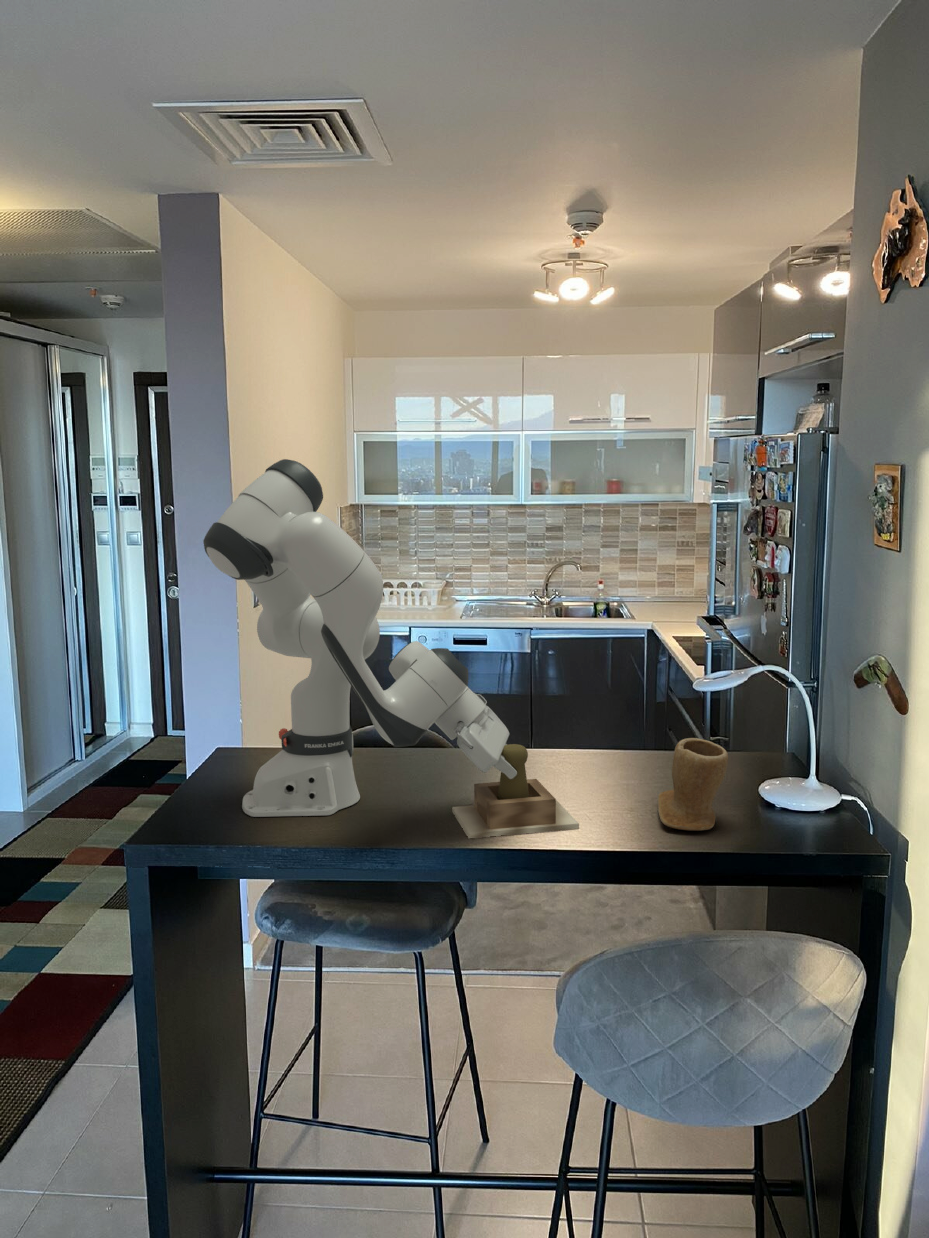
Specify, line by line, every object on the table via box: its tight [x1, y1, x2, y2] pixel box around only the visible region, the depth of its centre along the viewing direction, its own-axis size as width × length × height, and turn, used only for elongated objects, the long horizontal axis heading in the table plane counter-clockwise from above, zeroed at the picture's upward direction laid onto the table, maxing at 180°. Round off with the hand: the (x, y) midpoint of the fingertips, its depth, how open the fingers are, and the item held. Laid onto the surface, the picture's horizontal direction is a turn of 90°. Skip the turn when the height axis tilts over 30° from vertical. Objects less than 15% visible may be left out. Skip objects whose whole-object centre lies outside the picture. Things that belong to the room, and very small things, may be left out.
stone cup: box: [657, 737, 729, 831], centre depth 173 cm, size 15×12×15 cm
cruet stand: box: [451, 778, 580, 839], centre depth 175 cm, size 20×14×6 cm
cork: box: [498, 743, 529, 800], centre depth 174 cm, size 6×6×11 cm
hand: (516, 771), depth 173 cm, fingers closed on cork, 4 cm apart
